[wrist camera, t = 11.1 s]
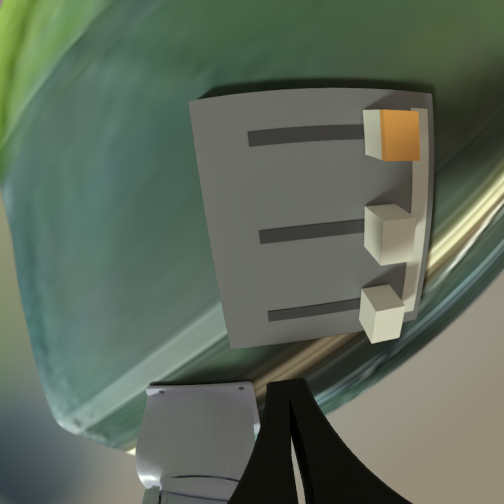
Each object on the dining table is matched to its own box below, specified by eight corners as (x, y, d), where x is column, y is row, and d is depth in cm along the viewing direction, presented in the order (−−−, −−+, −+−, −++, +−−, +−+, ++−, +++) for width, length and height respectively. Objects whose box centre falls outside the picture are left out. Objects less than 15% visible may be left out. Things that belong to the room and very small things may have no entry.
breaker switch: (365, 154, 16) (385, 161, 13) (362, 110, 15) (383, 109, 12) (396, 153, 16) (419, 160, 13) (394, 110, 14) (418, 111, 12)
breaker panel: (231, 335, 22) (230, 377, 18) (193, 102, 16) (177, 97, 12) (408, 308, 22) (432, 341, 18) (419, 94, 15) (459, 93, 12)
